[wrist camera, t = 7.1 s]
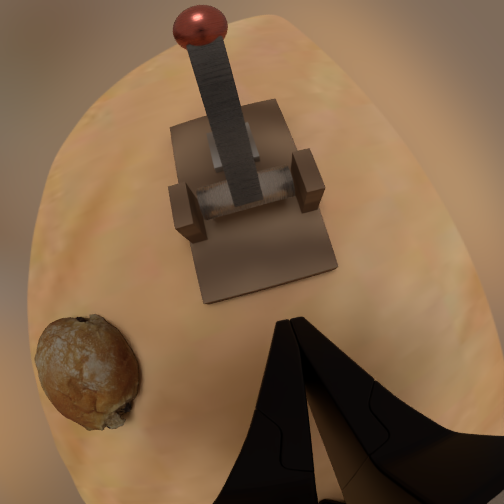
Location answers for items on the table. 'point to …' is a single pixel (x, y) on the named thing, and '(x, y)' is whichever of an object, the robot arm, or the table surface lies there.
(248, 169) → the lever
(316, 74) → the table surface
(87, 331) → the bread roll
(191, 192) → the base
